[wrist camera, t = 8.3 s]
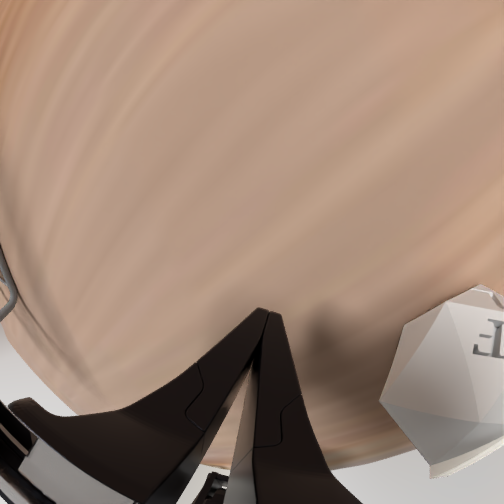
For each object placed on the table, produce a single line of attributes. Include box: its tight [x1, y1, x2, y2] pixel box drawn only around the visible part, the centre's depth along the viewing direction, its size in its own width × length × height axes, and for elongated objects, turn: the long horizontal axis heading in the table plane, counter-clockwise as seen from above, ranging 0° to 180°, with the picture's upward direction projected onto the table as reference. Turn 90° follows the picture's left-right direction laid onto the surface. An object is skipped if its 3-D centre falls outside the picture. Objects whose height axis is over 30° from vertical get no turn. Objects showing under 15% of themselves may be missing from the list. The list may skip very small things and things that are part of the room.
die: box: [379, 284, 504, 466], centre depth 9 cm, size 8×9×10 cm
